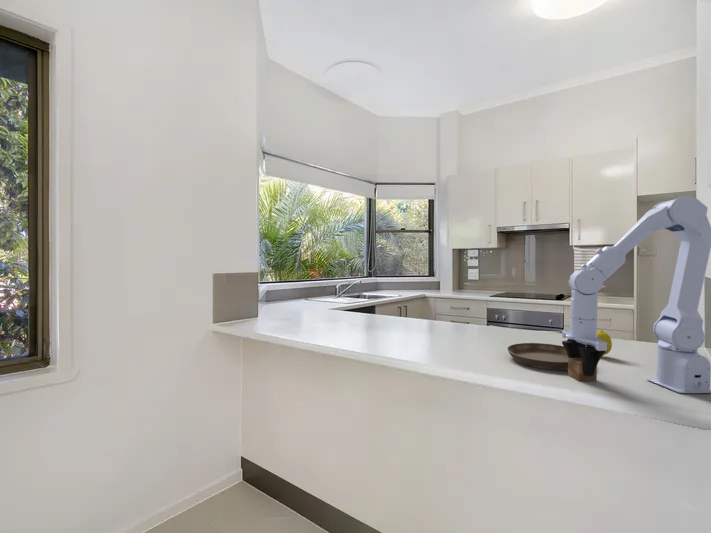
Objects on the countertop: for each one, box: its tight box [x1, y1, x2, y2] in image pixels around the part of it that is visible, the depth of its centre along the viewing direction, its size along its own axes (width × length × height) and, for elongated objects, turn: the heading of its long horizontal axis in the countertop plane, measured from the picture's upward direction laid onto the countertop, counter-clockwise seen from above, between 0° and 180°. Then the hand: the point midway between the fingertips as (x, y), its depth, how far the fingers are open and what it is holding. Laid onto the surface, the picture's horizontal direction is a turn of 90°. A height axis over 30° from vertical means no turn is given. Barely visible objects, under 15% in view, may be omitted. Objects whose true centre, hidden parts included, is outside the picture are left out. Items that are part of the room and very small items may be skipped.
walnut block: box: [567, 358, 598, 382], centre depth 96 cm, size 4×4×4 cm
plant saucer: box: [506, 342, 568, 371], centre depth 111 cm, size 21×21×3 cm
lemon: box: [597, 330, 613, 356], centre depth 117 cm, size 6×6×8 cm
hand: (581, 372), depth 96 cm, fingers closed on walnut block, 4 cm apart
